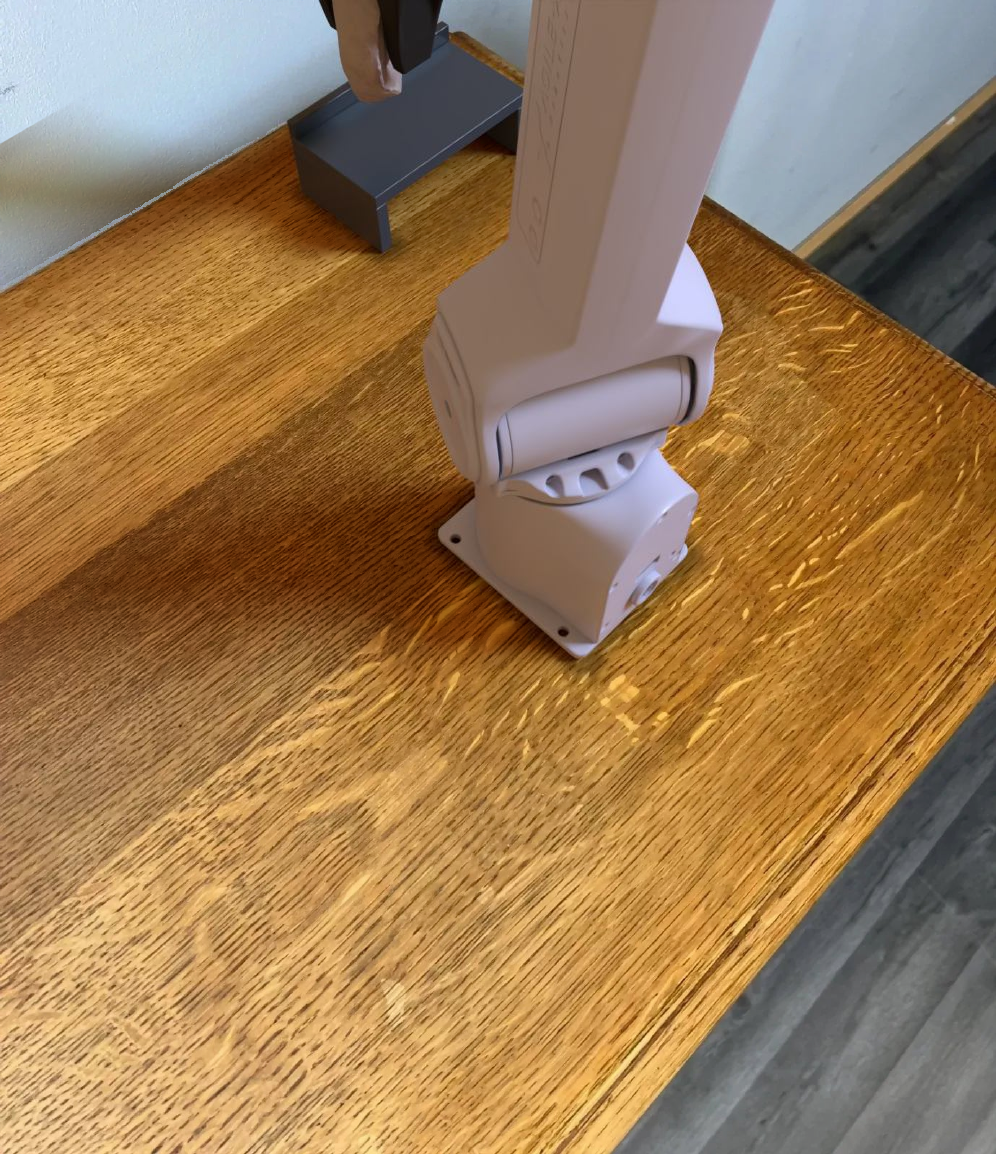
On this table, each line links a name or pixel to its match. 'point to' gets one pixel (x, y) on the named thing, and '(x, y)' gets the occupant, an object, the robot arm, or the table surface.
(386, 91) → the fossil
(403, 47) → the robot arm
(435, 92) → the shelf
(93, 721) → the table surface
